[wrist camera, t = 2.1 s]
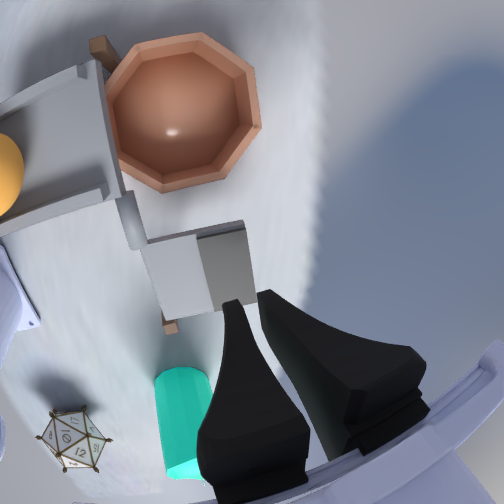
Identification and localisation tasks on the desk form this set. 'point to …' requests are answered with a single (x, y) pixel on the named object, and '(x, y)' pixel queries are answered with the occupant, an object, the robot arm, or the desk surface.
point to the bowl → (181, 111)
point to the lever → (113, 192)
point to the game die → (74, 439)
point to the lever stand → (110, 61)
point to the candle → (181, 418)
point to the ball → (9, 172)
